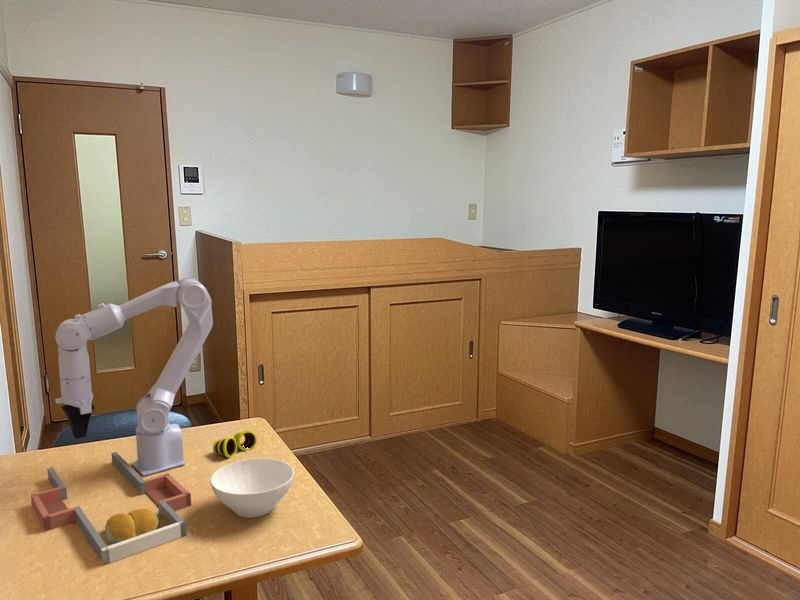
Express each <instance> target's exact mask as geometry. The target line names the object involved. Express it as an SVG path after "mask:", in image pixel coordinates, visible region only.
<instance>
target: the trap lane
mask: <svg viewBox="0 0 800 600" xmlns="http://www.w3.org/2000/svg"><path fill="white" fill-rule="evenodd" d="M111 463H112V465H113V466H114V467H115V468H116V469H117V470H118V471H119V472H120V473H121V475H122V476H123V477H124V478H125V479H126V480H127V481H128V482H129V483H130V484H131V485H132V486H133V488H135V489H136V491H138V493H140V495H141V496H142V495H146V494H147V496H148V497H150V499H151V500H152V501H153V502H154V503H155V504H156V505H157V506H158V514H159V516H161V518H162V519H163V520H165V522H166V523H167V524H168V525H166V526H163V527H160V528H156V530H154V531H151V532H148V533H145V534H142V535H139V536H136V537H133V538H130V539H128V540H125V541H122V542H119V543H116V544H110V545H108V546H107V544H106V542H105V541H104V540H103V538H102V537H101V536H100V534H99V533H98V531H97V530H96V528H95V527H94V525H93V524H92V522H91V521H90V519H89V518H88V516H86V514H85V512H84V510H83V509H81V506H80V505H78V506H74V507H70V508H68V507H67V506H66V504H65V502H64V500H67V499H68V495H67V494H68V493H67V486H66V485H65V483H64V482H63V481H62V479H61V478H60V476H59V475H58V473H57V472H56V470H55V469H54V467H48V468H46V469H47V480H48V482H49V483H50V484H51V486H52V488H51V489H47V490H43V491H39V492H36V493H32V494H30V499H31V506H32V508H33V511H34V513H35V514H36V517H37V518H38V520H39V523H41V526H42V528H43V530H44V531H45V532H48V531H51V530H53V529H56V528H60V527H64V526H67V525H70V523H71V524H74V523H76V525H77V526H78V528H79V530H80V531H81V532H82V535H83V536H84V538H85V539H86V540H87V542H88V544H89V545H90V547H91V549H92V550H93V551H94V553H95V554H96V556H97V557H98V560H99V561H100V562H101V563H102V565H103V566H105V565H108V564H110V563H114V562H115V561H116V562H117V561H118V560H121V559H125V558H127V557H130V556H133V555H136V554H138V553H141V552H143V551H146V550H149V549H152V548H155V547H157V546H158V547H159V546H161V545H164V544H165V543H168V542H172V541H174V540H177V539H180V538H183V537H185V536H187V523H186V521H185V520H184V518H182V517H181V516H180V515H179V514H178V513H177V512H176V511H179V510H182V509H185V508H187V507H192V494H191V493H190V492H189V491H188V490H187V489H186V488H185V487H184V486H183V485H181V483H179V482H178V481H177V480H176V479H175V478H174V477H173V476H172V475H171V474H170V473H165V474H161V475H157V476H155V477H150V478H148V479H143V478H142V477H141V476H140V474H138V472H137V471H135V468H134V467H133V466H131V465H130V464H129V463H128V462H127V461H125V459H124V458H123V457H122V456H121V455H120V454H119V453H118V452H117V451H113V452H111ZM73 522H74V523H73Z"/></svg>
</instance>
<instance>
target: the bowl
mask: <svg viewBox="0 0 800 600" xmlns="http://www.w3.org/2000/svg"><path fill="white" fill-rule="evenodd" d="M294 476H295V470H294V468H293V466H291V465H290V464H289V463H287V462H286V461H282V460H279V459H275V458H270V457H269V458H264V457H258V458H246V459H242V460H237V461H234V462H230V463H227V464H226V465H224V466H222V467H219V468H217V469H216V470H215V471H214V472H213V474H211V476H210V480H209V481H210V486H211V489H212V492H213V495H215V497H216V498H217V499H218V500H219V501H220V502H221V503H222V504H224V505H225V506H227V507H228V508H229V509H230V510H231V511H233V512H234V514H235V515H237V516H239V517H241V518H247V519H248V518H249V519H253V518H260V517H264V516H265V515H267V514H268V513H270V512H271V511H273V509H274V507H276V505H277V504H278V503H279V502H280V500H281V499H283V498H284V497H285V495H286V494H287V493H288V491H289V490H290V488H291V486H292V484H293V483H294V480H295V479H294Z"/></svg>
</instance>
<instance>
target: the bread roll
mask: <svg viewBox="0 0 800 600" xmlns="http://www.w3.org/2000/svg"><path fill="white" fill-rule="evenodd" d="M158 526H159V519H158V515H157V514H156V513H155V512H154V511H153V510H151V509H149V508H138V509H133V510H130V511H129V512H128V513H121V512H120V513H116V514H113V515H112V516H111V517H109V518H108V519H107V521H106V523H105V526H104V528H105V530H104V532H103V533H104V538H105V540H106V542H107V543H109V544H111V545H113V544H116V543H119V542H122V541H125V540H128V539H130V538H133V537H136V536H139V535H142V534H145V533H148V532H151V531H154V530H157V529H158Z"/></svg>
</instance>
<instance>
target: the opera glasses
mask: <svg viewBox="0 0 800 600" xmlns="http://www.w3.org/2000/svg"><path fill="white" fill-rule="evenodd" d="M242 436H243V437H244V441H243V442H242V443H241V439H242ZM257 443H258V437H257V435H256V433H255V432H254V431H252V430H248V429H247V430H243V431H239V432H236V433H235V434H234V435H233V436H230V435H229V436H227V437H225V438H222V439H216V440H215V441H214V442H213V445H212V451H213V453H214V454H216V455H219V456H223V457H226V458H227V459H232V458H233V457H234V456H235V455H236V454H237V451H238V448H239V449H240V450H241V451H243V452H247V451H246V450H249V451H251V450H250V449H252V450H253V449H254V448H255V447H256V445H257ZM243 445H244V447H245V448H247V447H248V448H249V449H245V448H244V447H242V446H243ZM231 457H232V458H231Z"/></svg>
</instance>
